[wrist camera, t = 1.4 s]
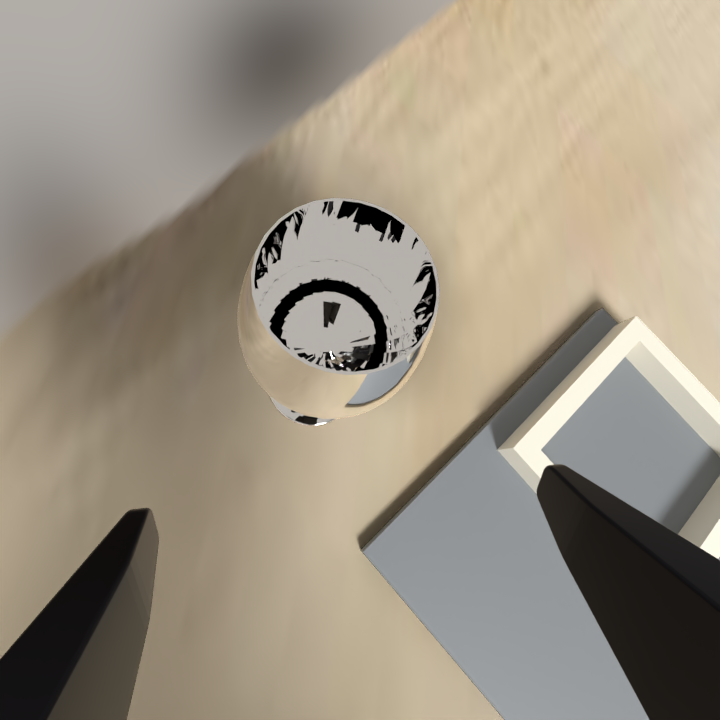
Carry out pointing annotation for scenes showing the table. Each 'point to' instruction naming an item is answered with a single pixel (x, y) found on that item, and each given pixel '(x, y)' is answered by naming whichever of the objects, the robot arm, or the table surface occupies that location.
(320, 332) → the wineglass
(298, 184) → the table surface
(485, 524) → the square frame board
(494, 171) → the table surface
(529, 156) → the table surface
